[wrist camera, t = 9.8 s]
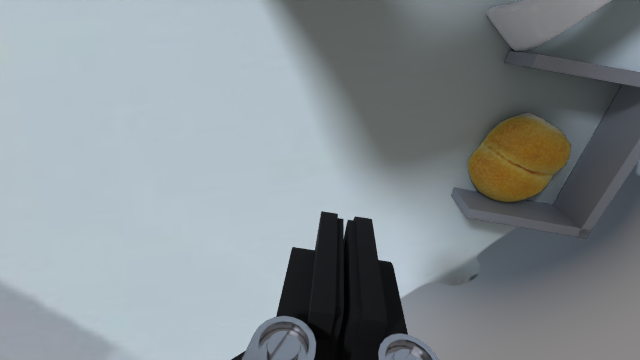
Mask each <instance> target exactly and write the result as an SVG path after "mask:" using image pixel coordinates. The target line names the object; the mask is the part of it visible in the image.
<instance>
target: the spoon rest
mask: <svg viewBox="0 0 640 360" xmlns="http://www.w3.org/2000/svg"><path fill="white" fill-rule="evenodd" d="M610 1H612V0H520V1H516V2H513V3H509V4H505V5H500V6H495V7H492V8H490V9H489V10H488V11H487V16H488V18H489V19H490V21H491V22H492V23H493V25H494V26H495V27H496V29H497V30H498V31H499V33H500V34H501V35H502V37H503V38H504V39H505V41H506V42H507V43H508V44H509V46H510V47H511V48H512V49H513V50H514V51H516V52H524V51H528V50H531V49H533V48H535V47H537V46H539V45H541V44H543V43H545V42H547V41H548V40H550V39H552V38H554V37H555V36H557V35H559V34H560V33H562V32H564V31H565V30H567V29H568V28H570V27H571V26H573V25H575V24H576V23H578V22H579V21H581V20H582V19H584V18H585V17H587V16H589V15H590V14H592V13H593V12H595V11H596V10H598V9H599V8H601V7H602V6H604V5H606V4H607V3H609V2H610Z"/></svg>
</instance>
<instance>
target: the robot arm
mask: <svg viewBox="0 0 640 360" xmlns="http://www.w3.org/2000/svg"><path fill="white" fill-rule="evenodd" d="M232 360H439V359H438V357H437V356H436V354H435V353H434V352H433V351H432V349H431V348H430V347H429V346H428V345H427V344H425V343H424V342H422V341H421V340H419V339H418V338H416V337H413V336H411V335H408V333H407V328H406V324H405V319H404V314H403V310H402V305H401V301H400V296H399V291H398V287H397V282H396V277H395V273H394V268H393V265H392V263H391V262H387V261H381V260H378V256H377V249H376V243H375V236H374V230H373V224H372V219H368V218H361V217H354V220H353V221H352V220H348V222H347V226H346V230H345V235H344V240H343V219H339V218H338V214H335V213H329V212H322V211H321V217H320V223H319V229H318V235H317V241H316V247H315V250H308V249H302V248H295V247H293V248H292V251H291V255H290V259H289V264H288V268H287V272H286V277H285V281H284V285H283V290H282V294H281V298H280V303H279V307H278V311H277V316H276V317H274V318H271V319H269V320H267V321H265V322H264V323H263V324H261V325H260V326H259V327H258V329H257V330H256V332H255V333H254V335H253V337H252V339H251V341H250V343H249V345H248V347H247V350H246V351H244V352H243V353H241V354H240V355H238V356H236V357H235V358H233V359H232Z"/></svg>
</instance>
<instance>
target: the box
mask: <svg viewBox="0 0 640 360" xmlns="http://www.w3.org/2000/svg"><path fill="white" fill-rule="evenodd" d="M504 63H508V64H514V65H519V66H525V67H530V68H536V69H542V70H547V71H553V72H558V73H564V74H569V75H575V76H580V77H586V78H592V79H597V80H603V81H608V82H614V83H619V84H622V86H621V87H620V89H619V91H618V93H617V94H616V96H615V98H614V99H613V101H612V103H611V105H610V106H609V108H608V110H607V112H606V113H605V115H604V117H603V119H602V120H601V122H600V124H599V125H598V127H597V129H596V131H595V132H594V134H593V136H592V138H591V139H590V141H589V143H588V145H587V146H586V148H585V150H584V151H583V153H582V155H581V157H580V158H579V160H578V162H577V164H576V165H575V167H574V169H573V171H572V172H571V174H570V176H569V177H568V179H567V181H566V183H565V184H564V186H563V188H562V190H561V191H560V193H559V195H558V197H557V198H556V200H555V202H554V203H553V205H549V204H544V203H538V202H532V201H527V200H520V201H515V202H502V201H496V200H493V199H491V198H489V197H487V196H485V195H484V194H482V193H481V192H476V191H470V190H465V189H459V188H454V190H453V192H452V195H451V196H452V198H453V199H454V201H455V202H456V204H457V205H458V207H459V208H460V210H461V211H462V213H463V214H464V216H465V217H466V218H472V219H478V220H483V221H489V222H495V223H500V224H506V225H512V226H517V227H523V228H530V229H534V230H540V231H546V232H551V233H557V234H563V235H569V236H574V237H580V238H585V239H586V238H587V236H588V235H589V233H590V232H591V230H592V229H593V227H594V226H595V224H596V223H597V221H598V220H599V218H600V217H601V215H602V214H603V212H604V211H605V209H606V208H607V206H608V205H609V203H610V202H611V200H612V199H613V197H614V196H615V194H616V193H617V191H618V190H619V188H620V187H621V185H622V184H623V182H624V181H625V179H626V178H627V176H628V175H629V173H630V172H631V170H632V169H633V167H634V166H635V165H636V163H637V162H638V160H639V159H640V72H636V71H630V70H624V69H619V68H613V67H608V66H602V65H597V64H591V63H586V62H580V61H574V60H569V59H563V58H558V57H552V56H547V55H541V54H534V53H524V52H513V51H509V52H508V55H507V57H506V60H505V62H504Z"/></svg>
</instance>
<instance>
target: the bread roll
mask: <svg viewBox="0 0 640 360" xmlns="http://www.w3.org/2000/svg"><path fill="white" fill-rule="evenodd" d="M570 148H571V145H570V143H569V141H568V140H567V138H566V137H565V135H564V134H563V132H562V131H561V130H560V129H558V128H556V127H555V126H553V125H552V124H550V123H549V122H547V121H545V120H543V119H542V118H540V117H538V116H535V115H533V114H532V113H523V114H520V115H517V116H514V117H511V118H508V119H506V120H504V121H502V122H501V123H499V124H498V125H497V126H496V127H495V128H493V129H492V130H491V131H490V132H489V134H488V135H487V136H486V138H485V139H484V141H483V142H482V143H481V145H480V146H479V147H478V148H477V149H476V150H475V151H474V152H473V154H472V155H471V157H470V158H469V161H468V170H469V174H470V177H471V180H472V182H473V184H474V185H475V187H476V188H477V189H478V191H480V192H481V193H482V194H484V195H485V196H487V197H489V198H491V199H493V200H496V201H502V202H515V201H520V200H523V199H526V198H529V197H532V196H534V195H536V194H538V193H539V192H541V191H542V190H543V189H544V188H545V187H546V186H547V184H548V183H549V182H550V180H551V178H552V177H553V176H554V174H555V173H556V172H557V171H559V170H560V169H562V168H563V167H564V166H565V165H566V163H567V161H568V159H569V156H570Z"/></svg>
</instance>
